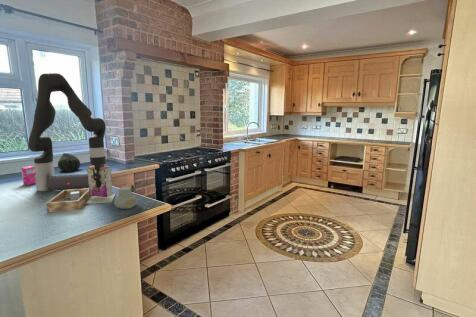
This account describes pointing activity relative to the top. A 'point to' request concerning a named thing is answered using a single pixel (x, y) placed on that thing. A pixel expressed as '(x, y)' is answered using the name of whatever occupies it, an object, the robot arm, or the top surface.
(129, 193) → the air freshener
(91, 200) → the plate
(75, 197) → the light grey cube
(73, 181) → the bluetooth speaker
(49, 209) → the oak bin
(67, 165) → the squash
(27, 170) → the supplement box
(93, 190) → the candy bar box
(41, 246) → the top surface
